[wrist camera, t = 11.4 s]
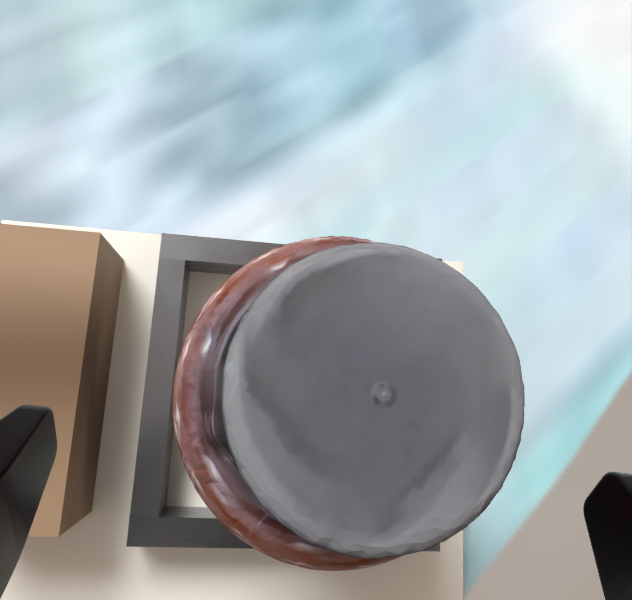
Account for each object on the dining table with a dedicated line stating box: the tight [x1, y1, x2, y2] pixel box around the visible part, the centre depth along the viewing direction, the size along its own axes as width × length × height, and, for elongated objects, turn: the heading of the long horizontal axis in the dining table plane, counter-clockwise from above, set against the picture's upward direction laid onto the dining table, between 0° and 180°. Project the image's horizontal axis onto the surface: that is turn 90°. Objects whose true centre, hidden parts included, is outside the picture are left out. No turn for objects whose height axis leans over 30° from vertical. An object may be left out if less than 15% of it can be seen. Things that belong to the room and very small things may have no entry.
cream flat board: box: [0, 220, 463, 600], centre depth 17 cm, size 19×16×1 cm
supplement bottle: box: [173, 236, 524, 571], centre depth 12 cm, size 6×6×11 cm
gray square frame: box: [126, 233, 442, 552], centre depth 17 cm, size 9×9×2 cm
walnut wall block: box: [0, 224, 124, 537], centre depth 15 cm, size 8×3×3 cm, turn 177°
